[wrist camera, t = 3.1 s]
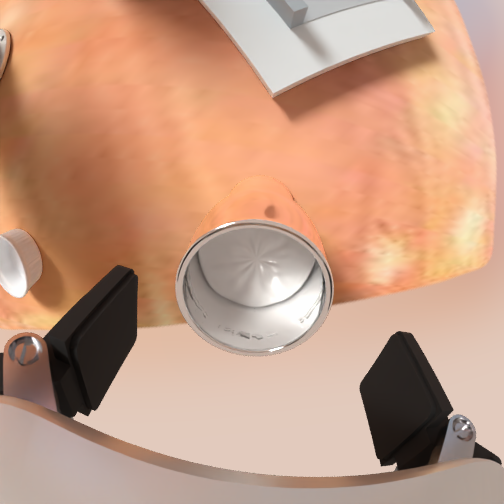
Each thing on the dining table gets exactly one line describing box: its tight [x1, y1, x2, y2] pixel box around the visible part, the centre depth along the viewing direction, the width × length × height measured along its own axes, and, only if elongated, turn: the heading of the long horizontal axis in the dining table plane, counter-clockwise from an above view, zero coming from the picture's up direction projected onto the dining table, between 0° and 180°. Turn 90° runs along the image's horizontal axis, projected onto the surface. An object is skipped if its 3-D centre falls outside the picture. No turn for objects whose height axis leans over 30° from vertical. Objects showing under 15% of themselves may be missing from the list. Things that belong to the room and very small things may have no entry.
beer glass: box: [175, 175, 334, 356], centre depth 18 cm, size 7×7×15 cm
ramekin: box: [0, 229, 42, 298], centre depth 26 cm, size 9×9×4 cm
